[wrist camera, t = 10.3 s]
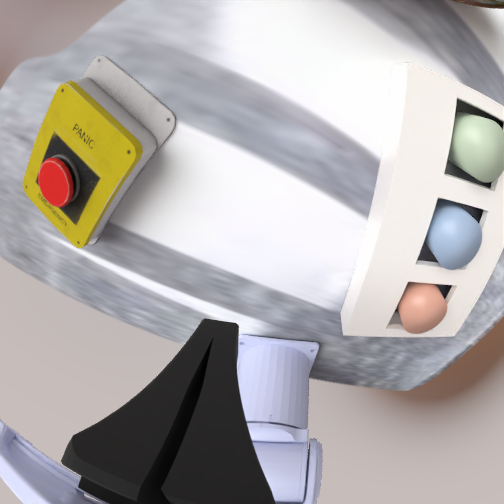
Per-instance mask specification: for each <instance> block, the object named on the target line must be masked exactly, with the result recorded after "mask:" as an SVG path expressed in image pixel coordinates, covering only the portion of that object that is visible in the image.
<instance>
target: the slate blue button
mask: <svg viewBox="0 0 504 504" xmlns="http://www.w3.org/2000/svg"><path fill="white" fill-rule="evenodd" d="M424 241H425V243H426V244H427V246H428V247H429V249H430V250H431V251H432V253H433V254H434V256H435V257H436V259H437V260H438V262H439V263H440V265H441V266H442V267H444V268H445V269H448V270H456V269H459V268H462V267H464V266H465V265H467V264H468V263H469V262H470V261H471V260H472V259H473V258H474V257H475V256H476V254H477V252H478V251H479V248H480V246H481V242H482V229H481V227H480V225H479V223H478V222H477V221H476V220H475V219H474V218H473V217H472V216H471V215H470V214H469V213H467V212H466V211H465V210H464V209H463V208H462V207H461V206H460V205H459V204H457V203H456V202H455V201H451V200H447V199H443V198H440V199H437V203H436V206H435V209H434V213H433V216H432V219H431V222H430V225H429V228H428V231H427V234H426V237H425V240H424Z"/></svg>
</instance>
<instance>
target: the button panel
mask: <svg viewBox="0 0 504 504" xmlns="http://www.w3.org/2000/svg"><path fill="white" fill-rule="evenodd" d="M457 99H459V100H461V101H463V102H466V103H468V104H470V105H472V106H474V107H476V108H478V109H480V110H482V111H484V112H486V113H488V114H490V115H492V116H493V117H495V118H497V119H499V120H501V121H502V122H504V106H502V105H501V104H499V103H497V102H496V101H494V100H492V99H490V98H489V97H487V96H485V95H483V94H481V93H479V92H477V91H476V90H474V89H472V88H470V87H468V86H466V85H463V84H461V83H459V82H457V81H455V80H453V79H450V78H448V77H446V76H443V75H441V74H439V73H436V72H434V71H431V70H428V69H426V68H423V67H420V66H418V65H415V64H412V63H409V62H406V63H402V64H397V65H392V73H391V86H390V96H389V106H388V114H387V122H386V129H385V136H384V143H383V149H382V155H381V161H380V166H379V171H378V177H377V182H376V186H375V191H374V196H373V200H372V205H371V209H370V213H369V218H368V222H367V226H366V230H365V233H364V237H363V241H362V245H361V248H360V252H359V255H358V259H357V262H356V266H355V269H354V272H353V276H352V279H351V282H350V285H349V288H348V291H347V294H346V298H345V300H344V303H343V306H342V309H341V312H340V315H341V322H342V330H343V335H348V336H372V337H447V336H455V335H456V333H457V332H458V330H459V329H460V327H461V326H462V324H463V323H464V321H465V320H466V318H467V316H468V315H469V313H470V312H471V310H472V308H473V307H474V305H475V303H476V302H477V300H478V298H479V296H480V295H481V293H482V291H483V289H484V287H485V285H486V284H487V282H488V280H489V278H490V276H491V274H492V272H493V270H494V268H495V266H496V264H497V261H498V259H499V257H500V255H501V253H502V250H503V248H504V171H503V172H502V174H501V175H500V176H499V177H498V178H497V179H496V180H494V181H492V184H491V188H488V187H485V186H482V185H479V184H477V183H474V182H471V181H468V180H465V179H461V178H458V177H455V176H452V175H449V174H445V173H444V172H445V168H446V163H447V159H448V154H449V149H450V143H451V138H452V132H453V125H454V118H455V111H456V102H457ZM503 131H504V124H503ZM438 197H439V198H443V199H447V200H451V201H455V202H458V203H462V204H466V205H469V206H473V207H476V208H480V209H483V210H484V211H483V214H482V217H481V220H480V222H479V225H480V227H481V229H482V242H481V246H480V248H479V251H478V252H477V254H476V256H475V257H474V258H473V259H472V260H471V261H470V262H469V263H468V264H467V265H465V266H464V267H462V268H459V269H456V270H448V269H445V268H444V267H442V266H441V265H440V263H437V262H429V261H421V260H417V259H418V256H419V253H420V251H421V248H422V245H423V243H424V240H425V237H426V234H427V231H428V228H429V225H430V222H431V219H432V216H433V213H434V209H435V206H436V203H437V199H438ZM408 282H419V283H431V284H443V285H452V287H451V289H450V291H449V293H448V295H447V297H446V299H445V301H446V303H447V313H446V315H445V317H444V319H443V320H442V321H441V322H440V323H439V324H438V325H437V326H436V327H434V328H433V329H431V330H429V331H427V332H424V333H421V334H411V333H408V332H407V331H406V330H405V329H404V327H403V324H402V321H401V318H400V315H399V312H394V311H395V309H396V307H397V305H398V303H399V301H400V299H401V296H402V294H403V292H404V290H405V288H406V285H407V283H408Z"/></svg>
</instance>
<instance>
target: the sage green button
mask: <svg viewBox="0 0 504 504" xmlns="http://www.w3.org/2000/svg"><path fill="white" fill-rule="evenodd" d="M448 160H449V161H450V162H451V163H452V164H454V165H455V166H457V167H459V168H460V169H462V170H464V171H465V172H467V173H468V174H470V175H472V176H473V177H475V178H476V179H478V180H479V181H481V182H492V181H494V180H496V179H497V178H498V177H499V176H500V175H501V174H502V172H503V171H504V131H503V130H502V128H501V127H500V126H499V124H497V123H496V122H495V121H493V120H491V119H487V118H484V117H480V116H476V115H472V114H468V113H464V112H455V118H454V125H453V132H452V138H451V143H450V149H449V154H448Z"/></svg>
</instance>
